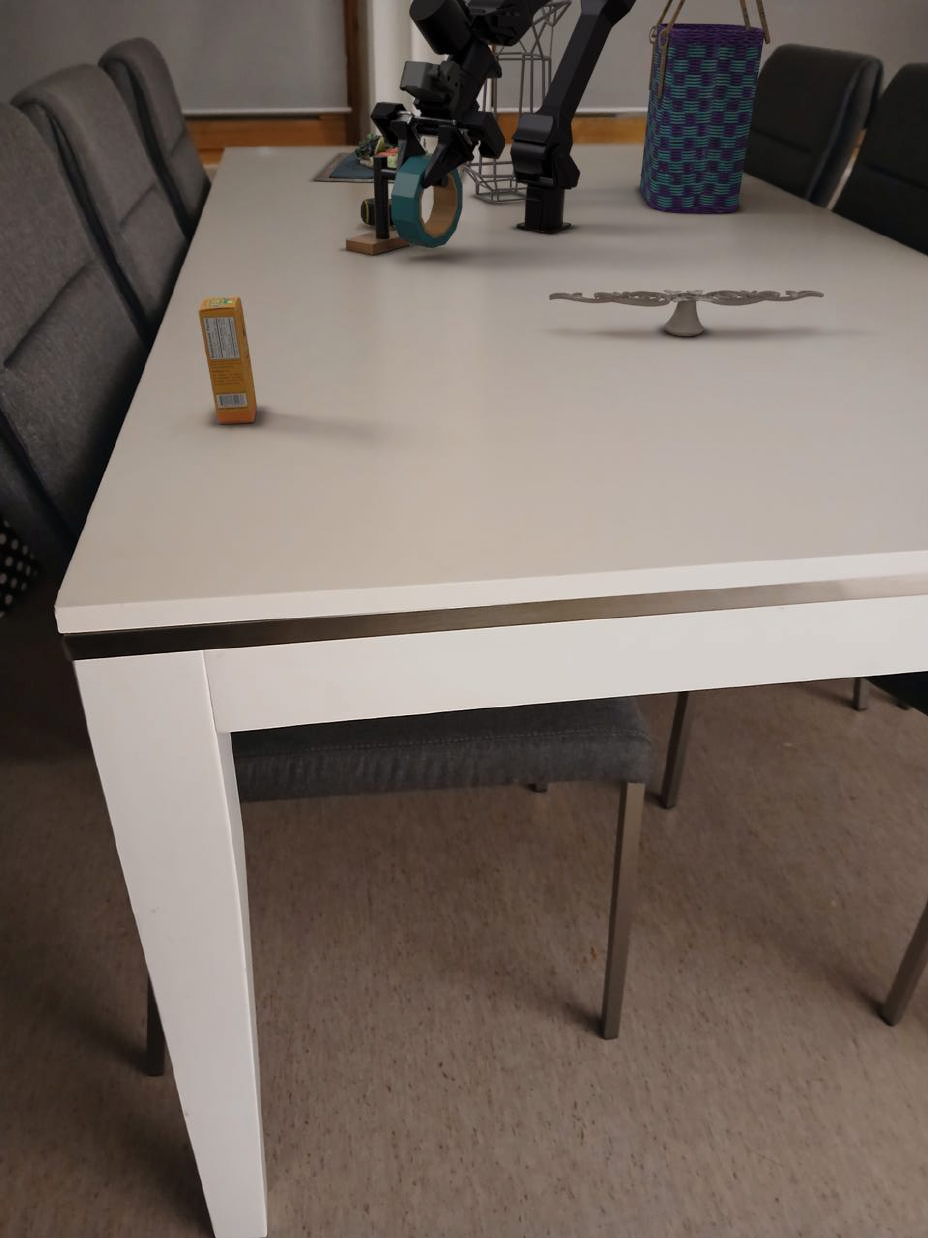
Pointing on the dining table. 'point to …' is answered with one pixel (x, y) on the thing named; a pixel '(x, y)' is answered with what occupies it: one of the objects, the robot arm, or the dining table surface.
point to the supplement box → (228, 359)
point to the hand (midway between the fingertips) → (410, 184)
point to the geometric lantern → (565, 1)
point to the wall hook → (686, 303)
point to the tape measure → (372, 212)
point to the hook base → (374, 243)
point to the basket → (700, 112)
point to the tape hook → (387, 193)
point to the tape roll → (410, 205)
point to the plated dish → (364, 161)
